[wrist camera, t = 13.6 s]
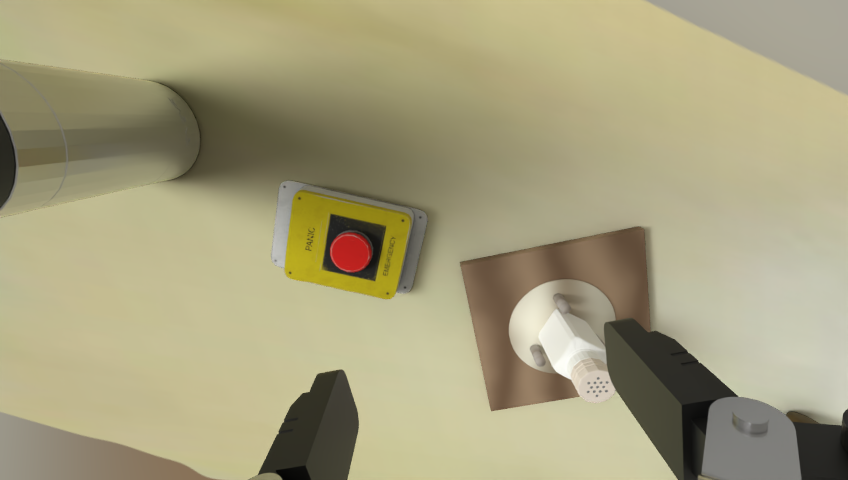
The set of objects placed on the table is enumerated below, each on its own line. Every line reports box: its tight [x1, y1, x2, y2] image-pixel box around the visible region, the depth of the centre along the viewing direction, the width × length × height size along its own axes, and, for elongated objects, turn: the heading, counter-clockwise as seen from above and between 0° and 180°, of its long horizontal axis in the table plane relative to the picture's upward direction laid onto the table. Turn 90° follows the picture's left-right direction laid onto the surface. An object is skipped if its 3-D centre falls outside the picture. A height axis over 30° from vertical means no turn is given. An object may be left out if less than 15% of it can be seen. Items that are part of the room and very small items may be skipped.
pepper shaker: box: [538, 309, 616, 403], centre depth 36 cm, size 4×4×10 cm
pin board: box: [460, 227, 651, 411], centre depth 40 cm, size 18×18×4 cm
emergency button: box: [271, 181, 428, 299], centre depth 38 cm, size 9×4×15 cm
